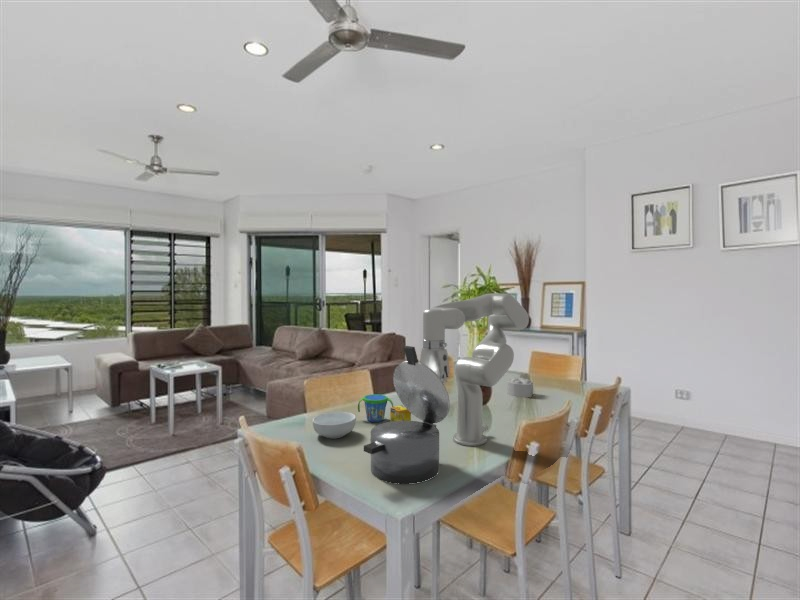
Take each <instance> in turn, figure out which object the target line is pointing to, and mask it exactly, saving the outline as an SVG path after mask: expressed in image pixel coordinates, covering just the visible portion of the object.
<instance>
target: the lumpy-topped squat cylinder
mask: <svg viewBox="0 0 800 600" xmlns="http://www.w3.org/2000/svg"><path fill="white" fill-rule="evenodd" d="M506 387H507V395H508V396H511V397H514V396H515V397H514V398H522V397H527V398H528V397H530V398H532V397H533V396H534V381H531V380H530V379H527V378H525V377H520V378H518V377H513V378H512V379H508V380H507V386H506ZM532 395H533V396H532ZM527 398H526V399H527ZM528 399H529V398H528Z"/></svg>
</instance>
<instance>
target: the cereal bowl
mask: <svg viewBox="0 0 800 600" xmlns="http://www.w3.org/2000/svg"><path fill="white" fill-rule="evenodd" d="M356 421H357V417H356V415H355V414H354V413H351V412H346V411H329V412H325V413H321V414H318V415H316V416H314V417H313V418H312V428H313V429H314V431H315V433H316V434H318V435H319V436H321V437H325V438H326V439H332V440H333V439H340V438H344V436H345V435H347V434H349V433H351V432H352V431H353V430H354V428H355V426H356Z"/></svg>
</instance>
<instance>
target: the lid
mask: <svg viewBox="0 0 800 600" xmlns="http://www.w3.org/2000/svg"><path fill="white" fill-rule="evenodd" d="M403 350H404V355H405V358H406V359H405V360H404V361H402V362H401V363H399V364H398V365H397V366H396V367H395V368H394V371H393V374H392V375H393V376H392V379H393V380H392V381H393V386H394V390H395V393H396V394H397V398H399V400H400V402H401V403H402V405H403V406H405V407H406V408H407V409H408V410H409V411H410V412H411V415H413V416H414V417H415V418H417V419H419V421H420V420H421V422H426V423H429V424H437V423H440V422H442V421H443V420H445V418H447V416H448V415H449V412H450V410H451V409H450V408H451V403H450V402H451V401H450V396H449V393H448V390H447V388H446V386H445V383H443V382H442V381H441V379H440V378H439V377H438V376H437V375H436V373H435V372H434V371H432V370H431V369H430V368H429V367H427V366H426V365H424V364H422V363H420V361H419V359H418V355H417V350H416V348H415V346H409V345H406V346H404V347H403Z"/></svg>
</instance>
